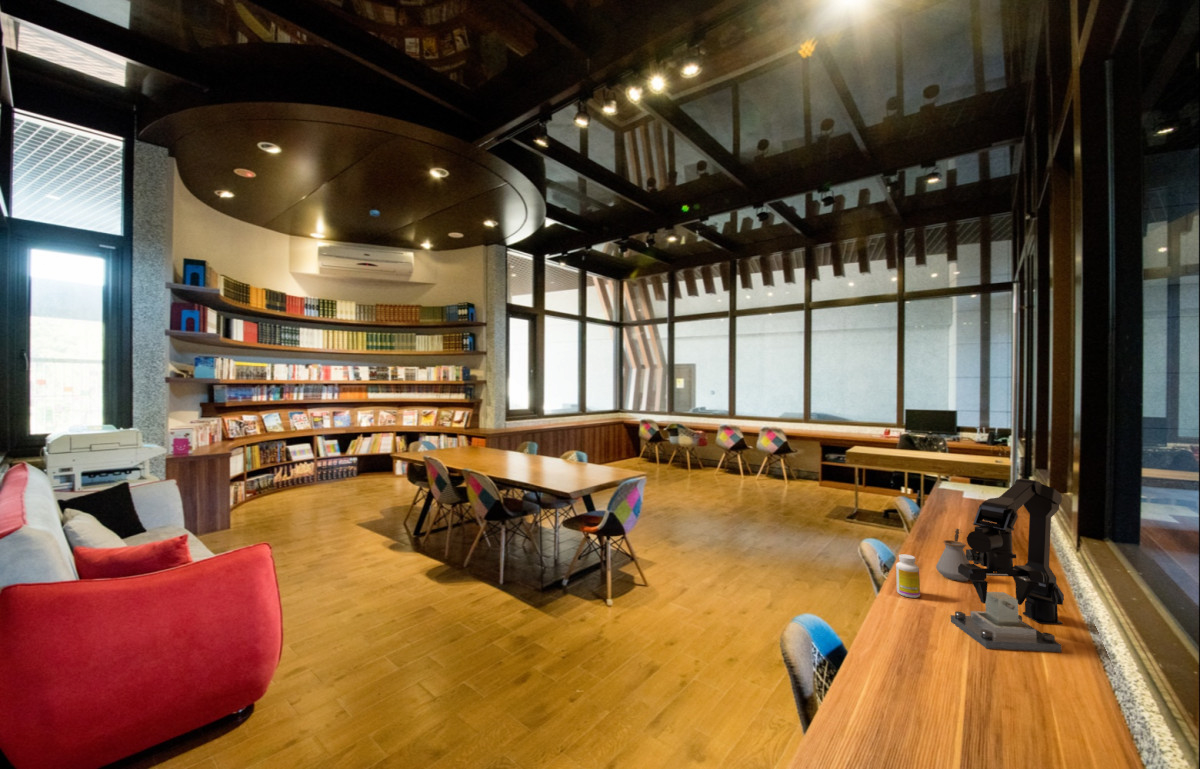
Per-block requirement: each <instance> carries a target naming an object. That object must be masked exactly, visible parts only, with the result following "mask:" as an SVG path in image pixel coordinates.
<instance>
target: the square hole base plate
mask: <svg viewBox="0 0 1200 769" xmlns="http://www.w3.org/2000/svg"><path fill="white" fill-rule="evenodd" d="M1018 618H1019V627H1007V626H996V625H994V624H993V623H991V622H990V621H988V620H987V619H986V611H984V610H983V611H982V610H981V611H979V610H970V615H966V613H965V612H962V611H959V610H957V611H955V612H954V614H950V623H951V624H953V625H954V624H955V626H956V627H957V628H958V627H959V630H961V631H962V630H963V632H964V633H965V634H967V635H968V636H969V637H970V638H971V639H973V640H974V641H976V643H979V645H981V646H983V647H984V648H985V649H987V650H1007V651H1008V650H1009V651H1025V652H1026V651H1027V652H1028V651H1029V652H1042V653H1043V652H1048V653H1062V644H1061V643H1059V642H1058V641H1056V639H1055V638H1056V637H1055V635H1054V634H1052V633H1049V632H1046V631H1045V632H1041V631H1040V630H1037V629H1036V628H1034V627H1032V626H1031V625H1029V624H1028V623H1026V622H1024V621H1023V616H1022V615H1020V614H1018Z"/></svg>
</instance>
